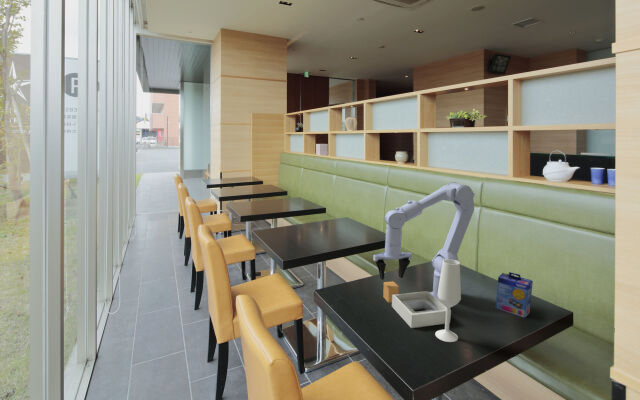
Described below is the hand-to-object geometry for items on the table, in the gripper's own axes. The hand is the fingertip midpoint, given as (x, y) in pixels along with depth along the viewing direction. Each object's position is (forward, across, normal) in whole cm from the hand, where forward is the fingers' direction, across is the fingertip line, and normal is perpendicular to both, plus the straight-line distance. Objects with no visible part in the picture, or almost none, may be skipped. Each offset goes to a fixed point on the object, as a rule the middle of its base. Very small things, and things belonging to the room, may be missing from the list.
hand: (391, 277), depth 130 cm
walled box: (+8, -5, +13) cm, 16 cm away
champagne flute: (+9, -6, +27) cm, 29 cm away
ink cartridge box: (+8, -38, +19) cm, 43 cm away
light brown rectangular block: (+9, 0, 0) cm, 9 cm away
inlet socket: (+8, -5, +13) cm, 16 cm away
